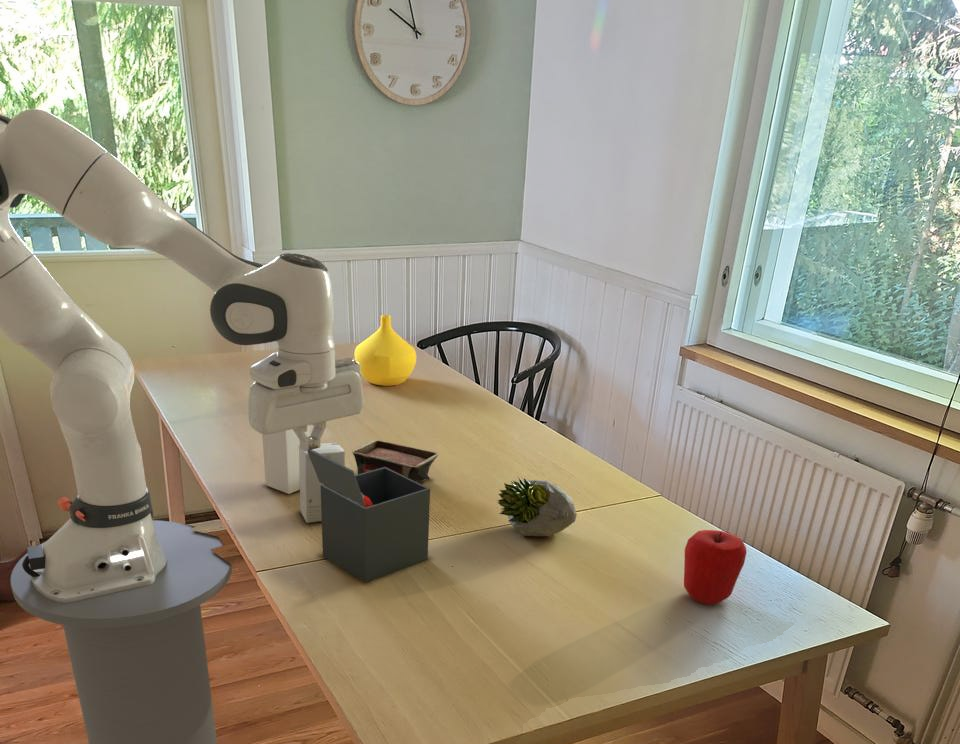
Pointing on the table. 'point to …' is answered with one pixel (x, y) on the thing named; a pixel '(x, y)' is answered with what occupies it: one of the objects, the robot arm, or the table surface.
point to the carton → (376, 525)
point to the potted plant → (537, 507)
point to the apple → (712, 565)
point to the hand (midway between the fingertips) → (310, 448)
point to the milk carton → (282, 460)
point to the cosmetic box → (315, 480)
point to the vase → (385, 356)
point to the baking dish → (394, 459)
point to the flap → (336, 476)
